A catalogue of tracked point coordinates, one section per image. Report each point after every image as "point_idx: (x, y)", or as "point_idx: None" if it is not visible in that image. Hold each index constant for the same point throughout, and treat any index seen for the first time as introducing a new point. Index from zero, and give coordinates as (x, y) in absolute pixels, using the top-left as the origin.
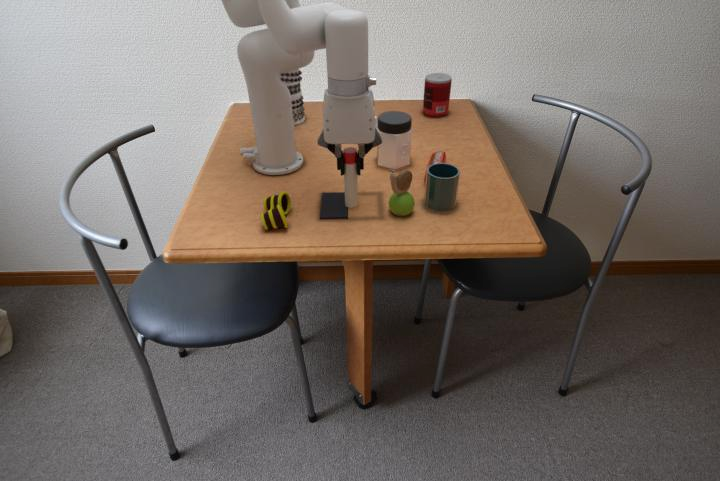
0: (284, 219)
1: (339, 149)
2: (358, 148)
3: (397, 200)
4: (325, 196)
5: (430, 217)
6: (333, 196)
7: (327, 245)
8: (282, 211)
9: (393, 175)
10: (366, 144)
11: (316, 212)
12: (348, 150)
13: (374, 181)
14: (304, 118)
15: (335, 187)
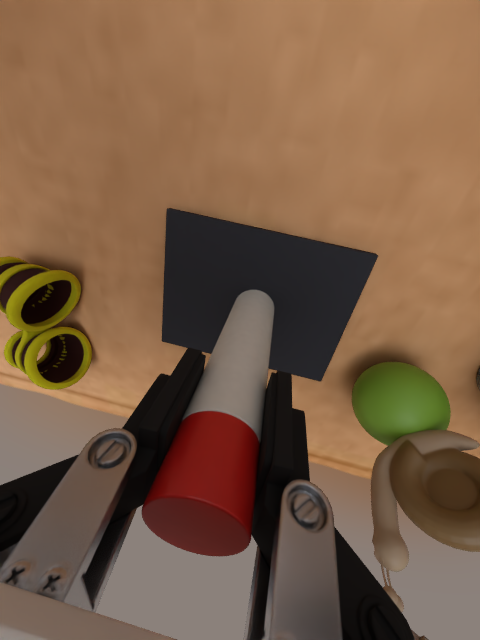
0: (68, 386)
1: (98, 567)
2: (245, 628)
3: (377, 439)
4: (177, 239)
5: (454, 408)
6: (203, 247)
7: None
8: (49, 383)
9: (391, 569)
10: (344, 625)
11: (154, 307)
12: (181, 527)
13: (406, 137)
14: None
15: (220, 160)
